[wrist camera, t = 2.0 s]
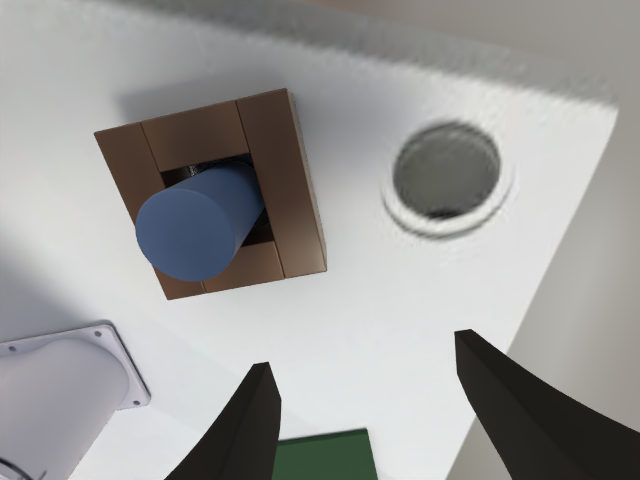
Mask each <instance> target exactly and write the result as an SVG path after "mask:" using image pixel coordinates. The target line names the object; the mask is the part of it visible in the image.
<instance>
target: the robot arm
mask: <svg viewBox="0 0 640 480" xmlns="http://www.w3.org/2000/svg"><path fill="white" fill-rule="evenodd" d="M98 331H99V332H100V333H99V332H98ZM454 334H455V350H456V366H457V375H458V377H459V380H460V382H461V384H462V387H463V389H464V391H465V394H466V396H467V398H468V400H469V402H470V404H471V406H472V408H473V409H474V411H475V413H476V415H477V417H478V418H479V420H480V422H481V424H482V425H483V427H484V429H485V431H486V432H487V434H488V436H489V438H490V439H491V441H492V443H493V445H494V447H495V448H496V450H497V452H498V453H499V455H500V457H501V458H502V460H503V462H504V464H505V466H506V468H507V470H508V472H509V474H510V476H511V478H512V480H640V433H639V432H637V431H635V430H633V429H631V428H628V427H626V426H624V425H622V424H620V423H618V422H616V421H614V420H612V419H610V418H608V417H606V416H604V415H602V414H600V413H598V412H596V411H594V410H592V409H590V408H588V407H587V406H585V405H583V404H581V403H580V402H578V401H576V400H574V399H572V398H571V397H569V396H567V395H565V394H564V393H562V392H560V391H558V390H557V389H555V388H553V387H552V386H550V385H549V384H547V383H546V382H544V381H542V380H541V379H539V378H538V377H536V376H535V375H533V374H532V373H530V372H529V371H527V370H526V369H524V368H523V367H521V366H520V365H519V364H517V363H516V362H515V361H513V360H511V359H510V358H509V357H507V356H506V355H505V354H503V353H502V352H501V351H499V350H498V349H497V348H495V347H494V346H493V345H491V344H490V343H489V342H488V341H486V340H485V339H484V338H482V337H481V336H480V335H478V334H477V333H476V332H474V331H473V330H472V329H468V330H462V331H455V332H454ZM150 400H151V399H150V396H149V394H148V393H147V391H146V389H145V387H144V385H143V383H142V381H141V380H140V378H139V376H138V374H137V372H136V370H135V368H134V367H133V365H132V363H131V361H130V359H129V357H128V355H127V354H126V352H125V350H124V348H123V346H122V344H121V342H120V340H119V339H118V337H117V335H116V333H115V331H114V329H113V328H112V327H111V326H110V325H107V324H104V325H98V326H93V327H87V328H82V329H76V330H71V331H65V332H59V333H54V334H48V335H43V336H37V337H32V338H26V339H21V340H15V341H9V342H4V343H0V480H67V479H68V478H69V476H70V475H71V474H72V472H73V471H74V469H75V468H76V466H77V465H78V464H79V462H80V461H81V459H82V458H83V456H84V455H85V454H86V452H87V451H88V449H89V448H90V446H91V445H92V444H93V442H94V441H95V439H96V438H97V436H98V435H99V434H100V432H101V431H102V429H103V428H104V426H105V425H106V424H107V422H108V421H109V419H110V418H111V416H112V415H113V414H114V412H115V411H116V410H122V409H128V408H135V407H141V406H146V405H148V404H149V402H150ZM280 421H281V397H280V394H279V391H278V388H277V385H276V382H275V379H274V376H273V373H272V370H271V367H270V364H269V362H264V363H257V364H253V366H252V367H251V369H250V370H249V372H248V373H247V375H246V376H245V378H244V379H243V381H242V382H241V384H240V385H239V387H238V388H237V390H236V391H235V393H234V394H233V396H232V397H231V399H230V400H229V402H228V403H227V405H226V406H225V407H224V409H223V410H222V412H221V413H220V415H219V416H218V417H217V419H216V420H215V421H214V423H213V424H212V425H211V427H210V428H209V429H208V431H207V432H206V433H205V434H204V436H203V437H202V438H201V439H200V441H199V442H198V443H197V444H196V446H195V447H194V448H193V449H192V450H191V451H190V452H189V454H188V455H187V456H186V457H185V458H184V459H183V460H182V462H181V463H180V464H179V465H178V466H177V467H176V468H175V469H174V470H173V471H172V472H171V473H170V474H169V475H168V476H167V477H166V478H165V479H164V480H272V474H273V468H274V462H275V456H276V450H277V444H278V438H279V431H280Z"/></svg>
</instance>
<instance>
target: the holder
mask: <svg viewBox="0 0 640 480" xmlns="http://www.w3.org/2000/svg"><path fill="white" fill-rule="evenodd" d="M94 136H95V138H96V140H97V143H98V145H99V147H100V149H101V152H102V154H103V156H104V158H105V161H106V163H107V165H108V167H109V170H110V172H111V174H112V176H113V179H114V181H115V183H116V185H117V188H118V190H119V192H120V194H121V197H122V199H123V201H124V203H125V206H126V208H127V210H128V212H129V215H130V217H131V219H132V221H133V224H134V226H135V228H136V219H137V216H138V213H139V210H140V209H141V207H142V205H143V204H144V203H145V202H146V201H147V200H148V199H149V198H150V197H151V196H153V195H154V194H156V193H158V192H160V191H162V190H164V189H167V188H169V187H171V186H173V185H175V184H177V183H179V182H182V181H184V180H186V179H188V178H190V177H191V175H190V173H189V170H188V167H187V166H191V165H196V164H201V163H205V162H210V161H214V160H219V159H224V158H228V157H233V156H237V155H242V154H247V153H250V154H251V157H252V161H253V164H254V168H255V172H256V175H257V179H258V182H259V186H260V189H261V193H262V197H263V200H264V204H265V207H266V211H267V215H268V218H269V222H270V224H265V225H260V226H255V227H252V228H251V230H250V232H249V233H248V235H247V236H246V238H245V240H244V241H243V243H242V244H241V246H240V248H239V249H238V251H237V252H236V254H235V256H234V257H233V259H232V260H231V262H230V263H229V265H228V266H227V267H226V268H225V269H224V270H223V271H222V272H221V273H220V274H218V275H216V276H214V277H212V278H210V279H206V280H202V281H183V280H179V279H176V278H173V277H170V276H168V275H166V274H164V273H163V272H161V271H160V270H158V269H157V268H155V267H154V266H153V265H152V266H153V269H154V271H155V273H156V275H157V278H158V280H159V282H160V284H161V287H162V289H163V291H164V293H165V296H166V298H167V300H173V299H179V298H184V297H190V296H195V295H200V294H206V293H212V292H218V291H223V290H228V289H234V288H239V287H245V286H250V285H256V284H261V283H267V282H272V281H278V280H283V279H285V278H286V279H287V278H293V277H298V276H304V275H309V274H315V273H320V272H326V271H327V254H326V244H325V239H324V235H323V230H322V226H321V221H320V216H319V212H318V207H317V203H316V198H315V193H314V189H313V184H312V180H311V175H310V170H309V166H308V161H307V157H306V152H305V147H304V143H303V138H302V134H301V129H300V124H299V120H298V115H297V111H296V106H295V101H294V97H293V94H292V93H291V92H290V91H289V90H288V89H286V88H282V89H278V90H274V91H269V92H265V93H261V94H257V95H252V96H248V97H244V98H239V99H237V100H230V101H226V102H222V103H218V104H213V105H209V106H205V107H200V108H196V109H192V110H187V111H183V112H179V113H174V114H170V115H166V116H162V117H157V118H153V119H149V120H144V121H141V122H136V123H132V124H127V125H123V126H119V127H115V128H110V129H106V130H102V131H97V132H94Z"/></svg>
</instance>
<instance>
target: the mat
mask: <svg viewBox="0 0 640 480" xmlns="http://www.w3.org/2000/svg"><path fill="white" fill-rule="evenodd" d="M272 480H378V478H377V473H376V469H375V464H374V459H373V455H372V450H371V446H370V441H369V436H368V432H367V430H360V431H353V432H346V433H339V434H332V435H325V436H318V437H311V438H304V439H297V440H290V441H283V442H278V444H277V450H276V456H275V462H274V468H273V474H272Z"/></svg>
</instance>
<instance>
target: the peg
mask: <svg viewBox="0 0 640 480" xmlns="http://www.w3.org/2000/svg"><path fill="white" fill-rule="evenodd" d="M264 207H265V204H264V200H263V197H262V193H261V189H260V186H259V182H258V179H257V175H256V172H255V169H254V168H252V167H251V166H249V165H247V164H245V163H242V162H238V161H227V162H223V163H220V164H218V165H216V166H214V167H212V168H209V169H207V170H205V171H203V172H201V173H199V174H197V175H194V176H192V177H190V178H188V179H186V180H184V181H182V182H179V183H177V184H175V185H173V186H171V187H169V188H167V189H164V190H162V191H160V192H158V193H156V194H154V195H153V196H151V197H150V198H149V199H148V200H147V201H146V202H145V203H144V204H143V205H142V207H141V209H140V210H139V213H138V216H137V219H136V228H135V230H136V237H137V241H138V244H139V247H140V249H141V251H142V252H143V254H144V255H145V257H146V258H147V259H148V261H149V262H150V263H151V264H152V265H153V266H154V267H155V268H157V269H158V270H160V271H161V272H163V273H164V274H166V275H168V276H170V277H173V278H176V279H179V280H183V281H202V280H206V279H210V278H212V277H214V276H216V275H218V274H220V273H221V272H222V271H223V270H224V269H225V268H226V267H227V266H228V265H229V263H230V262H231V260H232V259H233V257H234V256H235V254H236V252H237V251H238V249H239V248H240V246H241V244H242V243H243V241H244V240H245V238H246V236H247V235H248V233H249V232H250V230H251V228H252V227H253V225H254V224H255V222H256V220H257V219H258V217H259V216H260V214H261V212H262V211H263V209H264Z"/></svg>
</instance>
